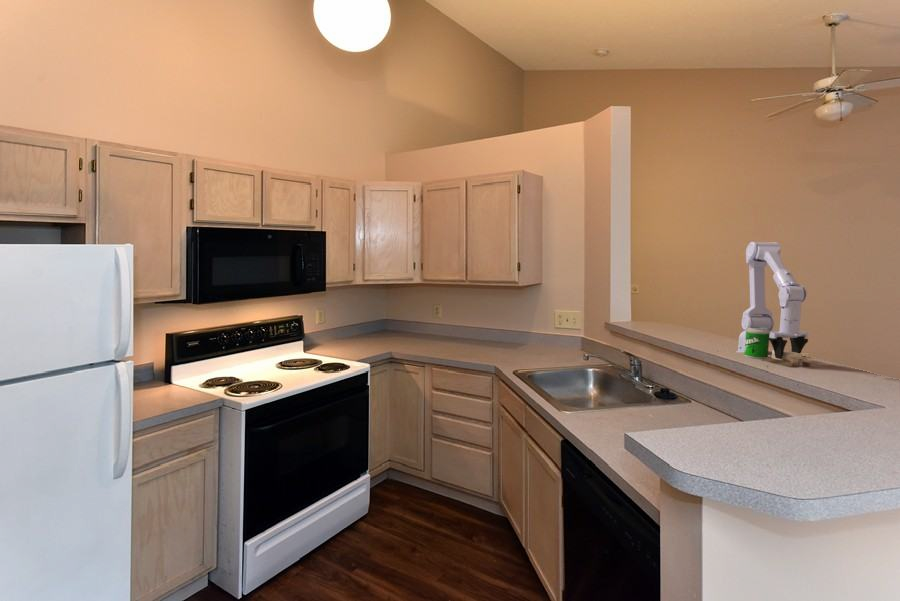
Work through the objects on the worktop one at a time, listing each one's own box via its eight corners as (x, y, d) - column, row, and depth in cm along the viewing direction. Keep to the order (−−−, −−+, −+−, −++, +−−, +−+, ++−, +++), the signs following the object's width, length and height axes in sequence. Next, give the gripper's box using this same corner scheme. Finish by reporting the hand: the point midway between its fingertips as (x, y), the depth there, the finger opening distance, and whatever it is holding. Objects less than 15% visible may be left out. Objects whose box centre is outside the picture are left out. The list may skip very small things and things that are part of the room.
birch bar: (800, 365, 171) (801, 353, 171) (791, 365, 170) (792, 354, 170) (780, 360, 179) (781, 349, 178) (771, 360, 178) (772, 349, 177)
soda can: (760, 358, 188) (763, 326, 187) (771, 362, 180) (774, 329, 179) (740, 357, 188) (742, 326, 187) (750, 361, 181) (752, 329, 180)
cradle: (760, 362, 179) (761, 353, 178) (804, 361, 184) (805, 351, 183) (790, 370, 167) (791, 360, 167) (836, 368, 172) (837, 358, 172)
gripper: (783, 321, 167) (780, 361, 168) (817, 321, 171) (814, 359, 172) (765, 319, 174) (762, 356, 175) (798, 318, 177) (795, 355, 179)
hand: (786, 358), depth 174 cm, fingers open, 7 cm apart
